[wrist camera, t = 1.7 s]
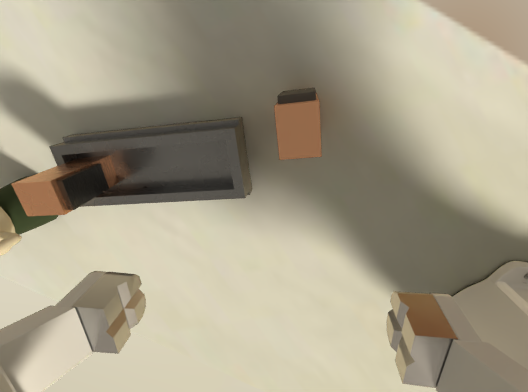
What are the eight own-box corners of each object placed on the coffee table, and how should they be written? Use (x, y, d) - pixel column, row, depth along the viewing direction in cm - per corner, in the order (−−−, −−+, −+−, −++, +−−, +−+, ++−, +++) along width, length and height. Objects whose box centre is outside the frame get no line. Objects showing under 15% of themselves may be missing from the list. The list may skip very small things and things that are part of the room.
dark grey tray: (241, 117, 29) (213, 137, 20) (252, 189, 32) (231, 233, 23) (72, 134, 33) (-12, 158, 24) (97, 198, 36) (29, 239, 27)
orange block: (318, 134, 29) (321, 156, 21) (286, 137, 29) (279, 159, 22) (316, 86, 27) (318, 92, 20) (282, 90, 27) (273, 97, 20)
